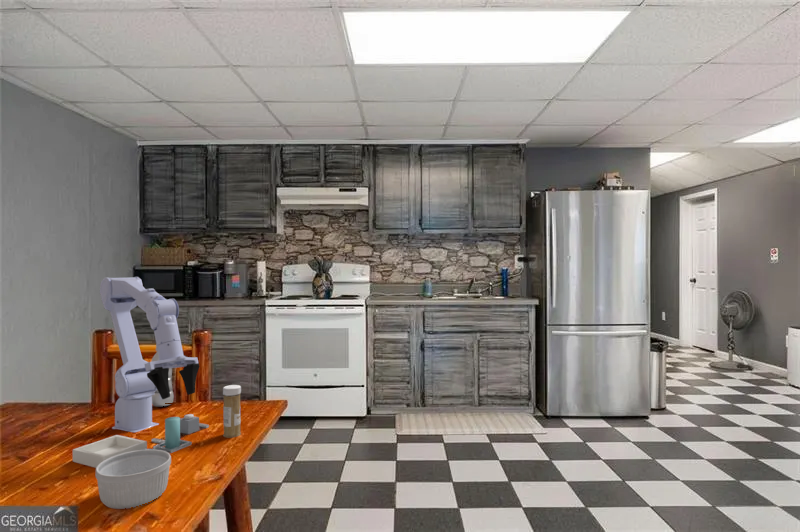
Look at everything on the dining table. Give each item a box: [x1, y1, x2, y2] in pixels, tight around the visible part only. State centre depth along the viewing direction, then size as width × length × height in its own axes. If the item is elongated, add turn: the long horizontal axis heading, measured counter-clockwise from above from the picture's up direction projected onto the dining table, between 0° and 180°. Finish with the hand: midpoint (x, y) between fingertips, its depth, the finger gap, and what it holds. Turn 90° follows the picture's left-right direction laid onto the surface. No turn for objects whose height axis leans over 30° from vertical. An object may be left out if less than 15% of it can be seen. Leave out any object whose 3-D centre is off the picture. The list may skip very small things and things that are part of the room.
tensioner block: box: [142, 439, 193, 454], centre depth 120 cm, size 6×14×2 cm, turn 155°
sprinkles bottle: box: [222, 384, 242, 439], centre depth 132 cm, size 5×5×14 cm
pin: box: [164, 416, 181, 449], centre depth 123 cm, size 3×3×8 cm
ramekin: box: [94, 448, 172, 510], centre depth 98 cm, size 13×13×7 cm
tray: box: [72, 434, 148, 469], centre depth 118 cm, size 11×11×3 cm
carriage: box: [180, 413, 200, 435], centre depth 135 cm, size 4×4×4 cm
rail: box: [151, 422, 210, 444], centre depth 132 cm, size 5×15×1 cm, turn 155°
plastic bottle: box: [150, 345, 175, 408], centre depth 160 cm, size 6×7×20 cm
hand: (179, 395), depth 125 cm, fingers open, 7 cm apart
